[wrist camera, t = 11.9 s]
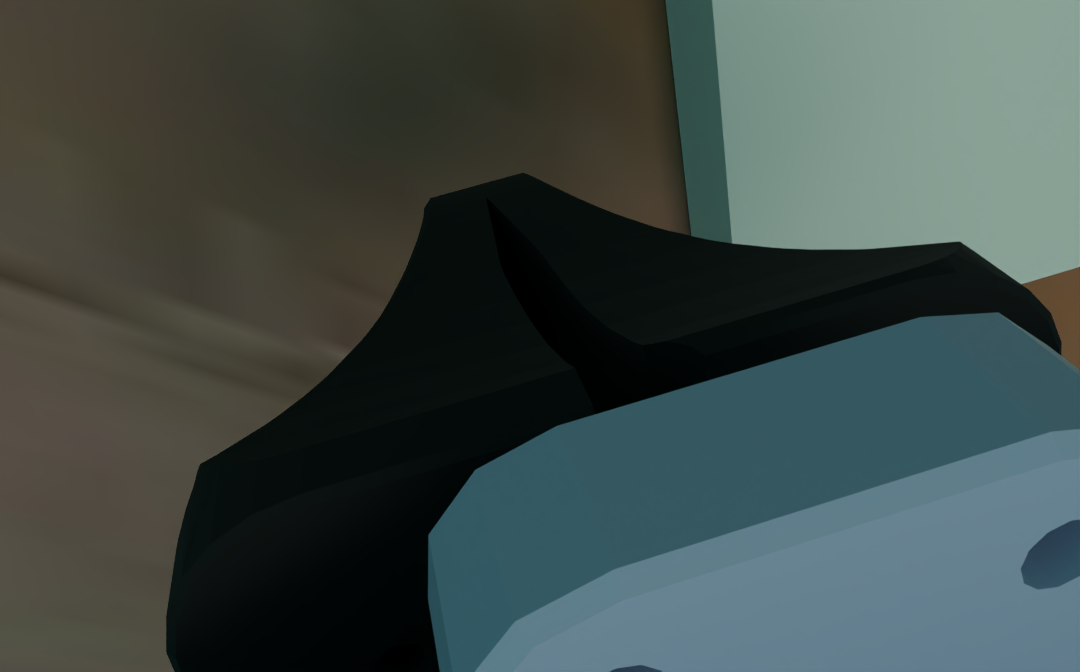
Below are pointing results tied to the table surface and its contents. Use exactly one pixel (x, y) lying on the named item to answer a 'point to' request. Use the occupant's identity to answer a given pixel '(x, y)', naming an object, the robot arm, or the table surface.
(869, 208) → the large sage green panel
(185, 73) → the table surface
